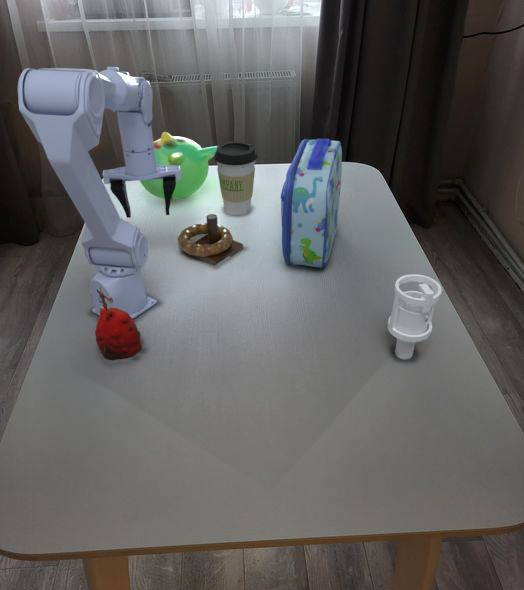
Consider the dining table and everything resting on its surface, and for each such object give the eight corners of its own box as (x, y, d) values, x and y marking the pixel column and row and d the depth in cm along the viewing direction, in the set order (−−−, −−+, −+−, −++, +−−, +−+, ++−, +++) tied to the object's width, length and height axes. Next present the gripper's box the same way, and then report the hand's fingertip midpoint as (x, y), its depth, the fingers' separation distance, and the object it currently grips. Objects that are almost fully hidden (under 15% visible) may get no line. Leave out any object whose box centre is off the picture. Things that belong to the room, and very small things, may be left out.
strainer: (393, 370, 92) (409, 297, 82) (376, 344, 97) (388, 271, 87) (432, 363, 94) (451, 289, 84) (412, 337, 99) (429, 265, 89)
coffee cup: (211, 204, 137) (207, 144, 127) (247, 197, 140) (246, 137, 130) (226, 222, 130) (223, 159, 120) (264, 214, 133) (264, 152, 124)
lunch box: (295, 213, 133) (298, 125, 120) (339, 218, 132) (348, 128, 118) (275, 273, 114) (276, 175, 100) (327, 278, 113) (336, 180, 99)
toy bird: (180, 174, 150) (174, 118, 141) (226, 192, 142) (223, 134, 133) (128, 197, 140) (118, 139, 130) (175, 218, 132) (168, 157, 122)
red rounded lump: (150, 345, 97) (137, 272, 87) (130, 371, 92) (114, 297, 82) (112, 335, 99) (96, 263, 89) (90, 360, 94) (70, 287, 84)
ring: (222, 261, 115) (222, 251, 114) (170, 254, 117) (169, 244, 116) (239, 234, 124) (238, 225, 122) (190, 228, 126) (189, 218, 124)
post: (216, 266, 116) (214, 231, 111) (184, 253, 120) (181, 218, 115) (243, 248, 121) (242, 214, 116) (212, 236, 126) (209, 202, 120)
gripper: (177, 136, 106) (183, 202, 115) (99, 140, 105) (112, 207, 114) (178, 151, 101) (185, 218, 110) (96, 155, 100) (110, 223, 108)
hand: (148, 214), depth 112 cm, fingers open, 7 cm apart
